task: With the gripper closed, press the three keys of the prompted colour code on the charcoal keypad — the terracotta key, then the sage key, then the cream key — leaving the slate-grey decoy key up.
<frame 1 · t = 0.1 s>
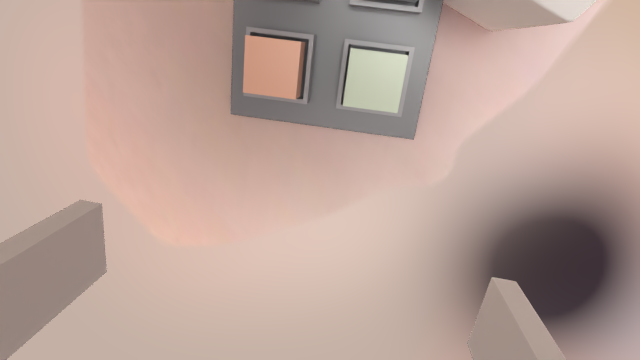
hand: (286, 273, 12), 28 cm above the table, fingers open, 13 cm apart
terracotta key: (274, 67, 33), point 4 cm above the table, slide at 0.0 cm
sage key: (374, 80, 33), point 4 cm above the table, slide at 0.0 cm
keypad: (333, 21, 35), on the table
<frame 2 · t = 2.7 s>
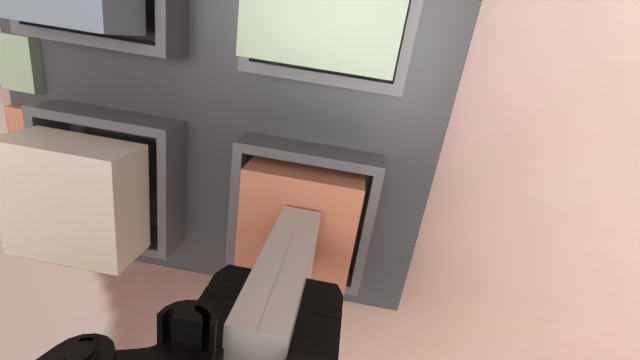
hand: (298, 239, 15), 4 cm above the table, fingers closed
terracotta key: (299, 221, 16), point 3 cm above the table, slide at 1.5 cm, touching gripper
keypad: (226, 92, 17), on the table
cream key: (76, 198, 15), point 4 cm above the table, slide at 0.0 cm
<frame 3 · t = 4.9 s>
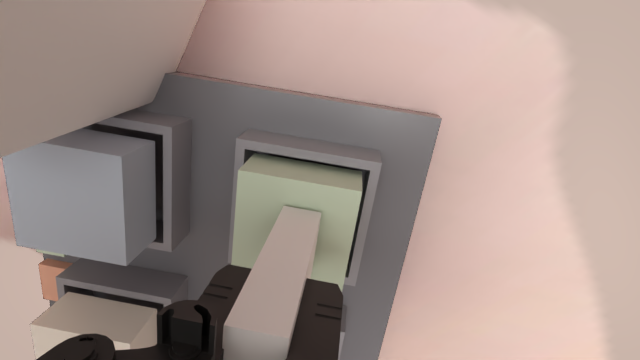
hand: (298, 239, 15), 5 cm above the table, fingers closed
sage key: (297, 222, 16), point 4 cm above the table, slide at 0.7 cm, touching gripper
keypad: (219, 250, 21), on the table
cream key: (100, 353, 19), point 4 cm above the table, slide at 0.0 cm
slate key: (86, 192, 16), point 4 cm above the table, slide at 0.0 cm
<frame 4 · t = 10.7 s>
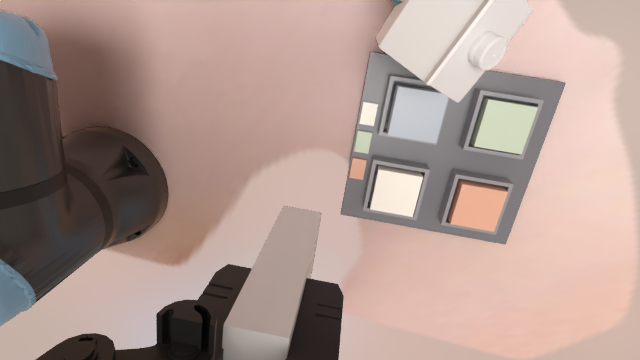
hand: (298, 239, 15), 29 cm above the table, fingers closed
milk carton: (422, 26, 38), on the table, touching keypad, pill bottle
terracotta key: (475, 204, 41), point 3 cm above the table, slide at 1.6 cm
sage key: (501, 125, 38), point 3 cm above the table, slide at 1.6 cm
keypad: (440, 152, 42), on the table
cream key: (395, 189, 42), point 3 cm above the table, slide at 1.7 cm
slate key: (415, 113, 37), point 4 cm above the table, slide at 0.0 cm
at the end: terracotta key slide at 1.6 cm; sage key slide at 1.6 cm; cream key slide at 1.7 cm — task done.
